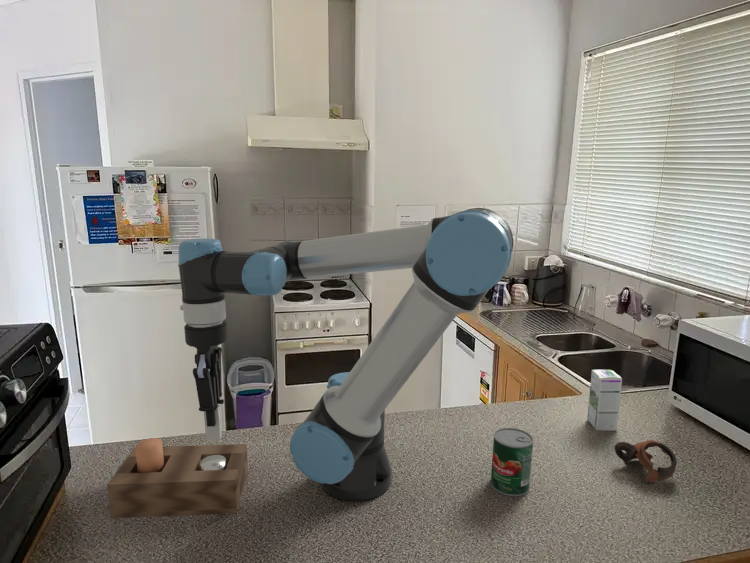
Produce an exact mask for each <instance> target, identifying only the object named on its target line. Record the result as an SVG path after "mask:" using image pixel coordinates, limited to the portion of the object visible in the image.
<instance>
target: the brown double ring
mask: <svg viewBox="0 0 750 563" xmlns="http://www.w3.org/2000/svg"><path fill="white" fill-rule="evenodd" d="M654 447H658V448H659V449H660V450H661V452H663V453H664V454H666V455H667V456H668V457H669V459H670V462H671V464H670V465H669V466H667V467H661V466H658V467H657V469H655V468H654V467H653V466H654V462H652V459H653V458H654V456H653V455H652V454H651V453H649V452H647V450H648V449H649V448H654ZM614 452H615V455H616V456H617V457H618V458H619V459H621V460H622V462H623V463H624V464H623V465H625V466H626V467H627V466H629V463H630V461H632V460H638V461H639V463H640V464H641V465H642V467H643V468H644V469H645V470H646V471H647V472H648V473H647V475H646V476H645V477H644V480H645V481H646V482H648V483H649V484H654V483H656V481H658V482H663V481H665V480H667V479H668V480H669V479H670V478H671V477H673V476H674V474H675V471H676V467H677V463H678V462H677V461H678V460H677V457H676V454H675V453H674V452H673V451H672V449H671V448H670V447H668V446H667V445H666V444H664V443H662V442H660V441H657V440H650V439H649V440H645V441H640V442H637V443H634V444H632V443H629V442H627V441H619V442H617V443H616V444H615V445H614Z"/></svg>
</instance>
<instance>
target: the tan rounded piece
mask: <svg viewBox="0 0 750 563" xmlns="http://www.w3.org/2000/svg"><path fill="white" fill-rule="evenodd" d="M163 447H164V445H163V440H162V439H161V438H157V437H155V438H154V437H151V438H145V439H142V440H140V441H139V442H137V443H135V447H134V448H136V459H137V470H138V473H149V472H162V470H163V468H164V457H163Z"/></svg>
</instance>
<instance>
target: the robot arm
mask: <svg viewBox="0 0 750 563" xmlns="http://www.w3.org/2000/svg"><path fill="white" fill-rule="evenodd" d="M513 250H514V235H513V231H512V229H511V226H510V225H509V223H508V221H507V220H506V219H505V218H504V217H503V216H502V215H501V214H499V213H497V212H496V211H494V210H493V209H489V208H484V207H471V208H469V209H466V210H465V209H464V210H463V211H458V212H456V213H453V214H451V215H447V216H440V217H433V218H431V219H430V221H429V222H428V223H427V224H424V225H423V224H422V225H415V226H407V227H400V228H391V229H385V230H384V229H383V230H377V231H376V230H375V231H369V232H361V233H353V234H346V235H338V236H332V237H331V236H330V237H323V238H322V237H321V238H315V239H309V240H308V239H307V240H303V241H284V242H279V243H278V244H276V245H275V244H274V245H271V246H266V247H262V248H259V249H254V250H251V251H226V250H223V246H222V242H221V241H220V239H217V238H194V239H192V238H191V239H186V240H183V241H181V242H180V243H179V245H178V265H177V266H178V269H179V278H180V287H181V298H182V299H181V301H182V304H181V305H179V306H180V307H179V309H180V310H181V311H183V321H184V323H186V324H185V325H184V328H183V330H184V338H185V339H184V340H185V344H186V345H187V346H189V347H193V348H195V349H196V354H194V363H195V365H196V367H194V368H193V369H192V375H193V377H194V381H195V386H196V392H197V398H198V404H199V406H198V411H200V412H203V416H204V417H203V419H204V430H205V440H206V441H221V439H222V437H223V430H222V418H221V406H220V405H224V402H225V399H221V398H222V396H223V392H222V387H223V386H222V352H223V349H222V347H219V345H222V344H224V343H226V341H227V340H228V328H227V324H228V323H227V322H226V321H225V320H226V319H227V309H226V308H227V307H226V296H225V294H235V295H236V294H237V295H249V296H250V295H251V296H257V297H263V296H275V295H276V296H277V295H278V294H279V293H280V292H281V291H282V289H283V288H284V287H285V284H286V282H289V281H296V280H297V281H298V280H306V279H312V278H313V279H314V278H323V277H333V276H342V275H343V276H344V275H345V276H346V275H354V274H356V275H357V274H363V273H364V274H365V273H374V272H383V271H385V272H386V271H393V270H394V271H395V270H404V269H411V272H412V276H413V277H412V278H413V282H412V284H411V285H410V287H409V288H408V290H406V292H405V294H404V295H403V297H402V298H401V300H400V301H399V302H398V304H397V305H396V307H394V309H393V311H392V312H391V314H389V316H388V318H387V319H386V321H385V322H384V324H383V325H382V326H381V328H380V329H379V330H378V332H377V333H376V335H375V336H374V338H373V339H372V340H371V342H370V343H369V345H368V346H367V347H366V349H365V350H364V352H363V353H362V354H361V356H360V357H359V358H358V360H357V362H356V363H355V364H354V366H353V367H352V369H351V370H350V371H346V372H339V373H335V374H333V375H331V376H329V378H328V381H327V385H326V388H327V389H326V391H324V393H323V395H322V396H321V397H320V399H319V401H318V402H317V403H316V405H315V406H314V407H313V409H312V410H311V412H310V413H309V414H308V415H307V417H306V418H305V419H304V421H303V422H301V423H300V424H299V425H297V427H295V430H294V432H293V434H292V435H291V437H290V441H289V452H290V454H291V456H292V460H293V463H294V465H295V466H296V468H297V469H298V470H299V471H300V472H301V473H302V474H303V475H304V476H305V477H307V478H308V479H309V480H311V481H314V482H315V483H319V484H320V487H321V488H322V489H323V490H324V491H325V493H327V494H328V495H330V496H332V497H333V498H336V499H339V500H343V501H347V502H349V501H350V502H361V501H366V500H367V501H369V500H371V499H375V498H377V497H380V496H381V495H383V494H385V492H387V491H388V490H389V488H390V487H391V486H392V485H391V484H392V482H393V480H392V479H393V478H392V477H393V475H392V474H393V469H392V466H391V462H390V459H389V456H388V454H387V450H386V447H385V418H386V417H385V415H386V413H385V411H386V409H387V408H388V406H389V404H390V403H391V402H392V401H393V399H394V398H395V397H396V396H397V394H398V393H399V392H400V390H401V389H402V388H403V386H404V385H405V384H406V383H407V381H408V380H409V378H410V377H411V376H412V375H413V373H414V372H415V371H416V369H417V368H418V367H419V366H420V364H421V363H422V361H423V360H424V359H425V358H426V356H427V355H428V353H430V351H431V350H432V348H433V347H434V346H435V345H436V343H437V342H438V341H439V339H440V338H441V336H442V335H443V334H444V333H445V331H446V330H447V329H448V328H449V326H450V325H451V324H452V323H453V321H454V320H455V318H456V317H457V316H458V315H459V314H464V313H466V314H467V313H472V312H473V311H474V310H475V308H477V306H478V305H479V304H480V302H481V301H482V300H483V298H484V297H485V296H486V295H487V293H488V292H489V291H490V290H491V289H492V288H493V287H494V286H495V285H497V284H499V283H500V281H501V280H502V279H503V277H504V276H505V274H506V273H507V270H508V269H509V267H510V263H511V259H512V252H513Z"/></svg>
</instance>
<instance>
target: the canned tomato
mask: <svg viewBox="0 0 750 563" xmlns="http://www.w3.org/2000/svg"><path fill="white" fill-rule="evenodd" d="M534 442H535V441H534V438H533V436H532V435H531V434H530V433H529V432H527V431H526V430H524V429H523V430H522V429H520V428H515V427H503V428H502V427H501V428H499V429H497V430H495V431H494V433H493V445H492V458H491V470H490V472H491V473H490V486H491V487H492V488H493V490H494V491H496V492H498V493H500V494H501V495H504V496H507V497H508V496H509V497H521V496H524V495H526V494H527V493H529V491H530V484H531V483H530V481H531V470H532V460H533V458H532V456H533V448H534Z"/></svg>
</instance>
